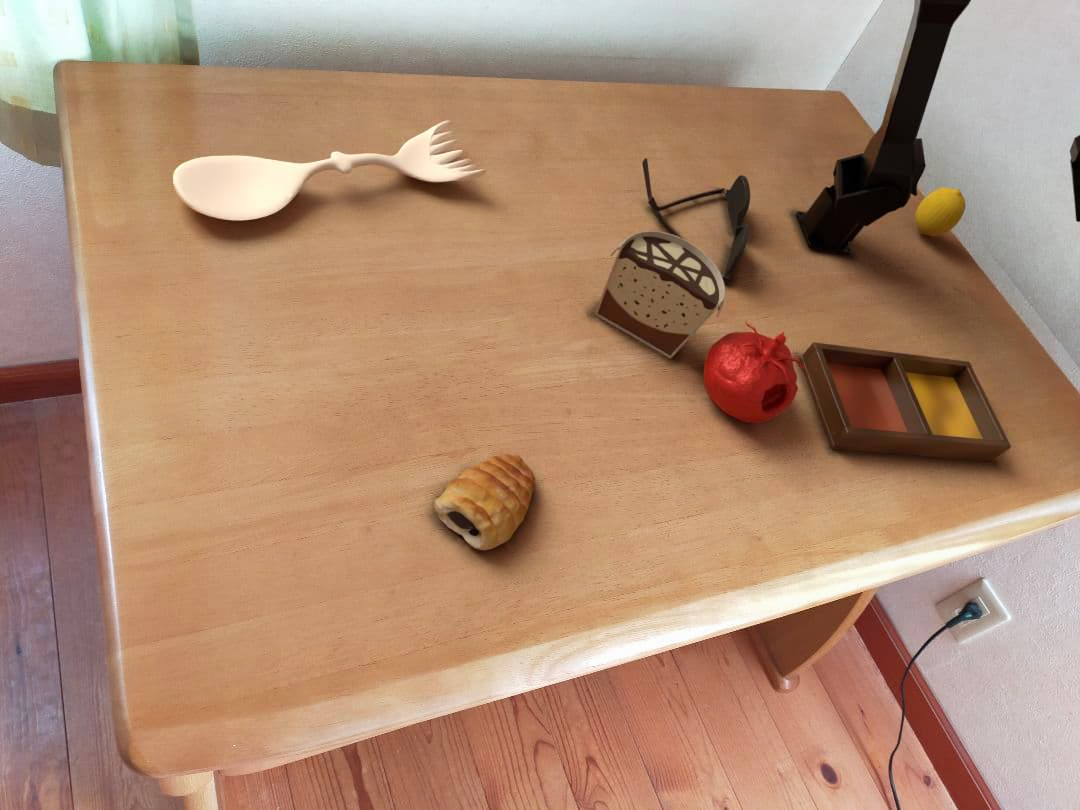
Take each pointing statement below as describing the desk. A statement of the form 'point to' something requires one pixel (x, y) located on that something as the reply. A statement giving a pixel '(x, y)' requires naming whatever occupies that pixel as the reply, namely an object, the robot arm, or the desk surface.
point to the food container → (661, 290)
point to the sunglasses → (736, 207)
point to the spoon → (304, 175)
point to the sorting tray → (901, 403)
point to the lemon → (940, 211)
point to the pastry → (488, 501)
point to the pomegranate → (751, 375)
